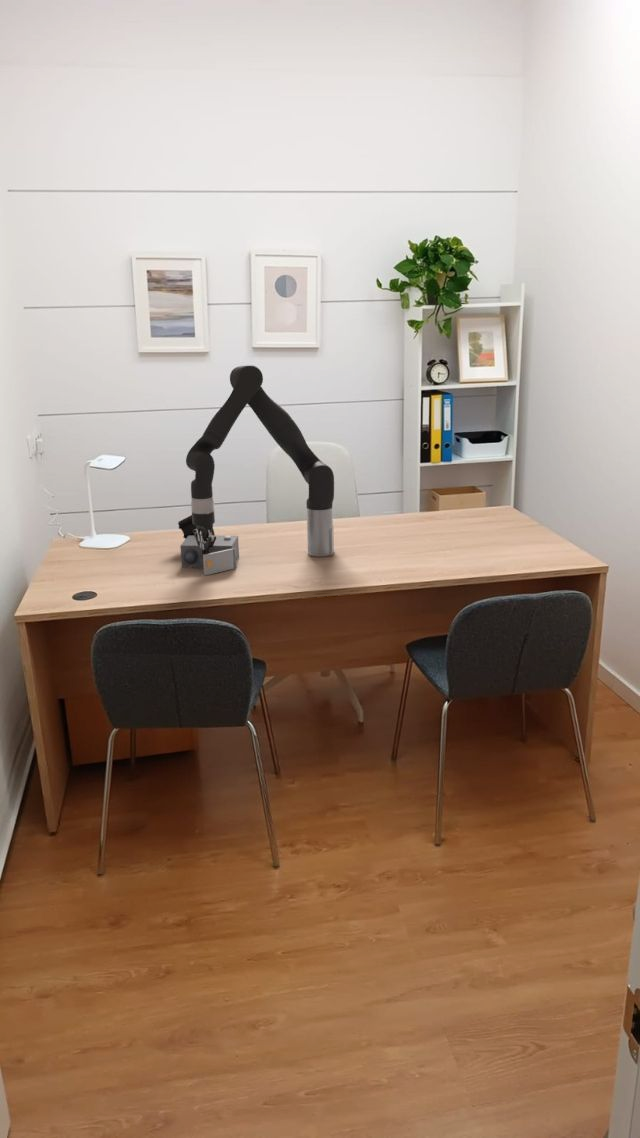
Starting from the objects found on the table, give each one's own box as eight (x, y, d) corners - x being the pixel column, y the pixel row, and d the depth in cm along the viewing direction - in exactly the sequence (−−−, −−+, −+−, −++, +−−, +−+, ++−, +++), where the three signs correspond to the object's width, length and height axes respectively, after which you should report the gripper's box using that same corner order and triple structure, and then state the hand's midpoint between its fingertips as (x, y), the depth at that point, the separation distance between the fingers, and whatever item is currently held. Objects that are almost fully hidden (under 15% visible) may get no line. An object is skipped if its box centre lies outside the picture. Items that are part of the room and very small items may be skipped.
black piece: (224, 545, 316) (204, 510, 311) (193, 561, 317) (172, 526, 312) (224, 542, 319) (204, 507, 315) (193, 558, 321) (173, 524, 316)
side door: (235, 567, 296) (234, 547, 294) (237, 568, 295) (236, 549, 292) (204, 574, 290) (202, 554, 287) (206, 575, 288) (204, 555, 286)
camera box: (239, 556, 308) (237, 533, 305) (232, 569, 295) (230, 544, 292) (190, 556, 309) (188, 533, 306) (180, 568, 297) (179, 544, 294)
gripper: (183, 507, 289) (187, 556, 295) (201, 515, 279) (204, 566, 284) (203, 504, 293) (206, 552, 299) (222, 512, 283) (224, 561, 288)
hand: (205, 559), depth 291 cm, fingers closed
